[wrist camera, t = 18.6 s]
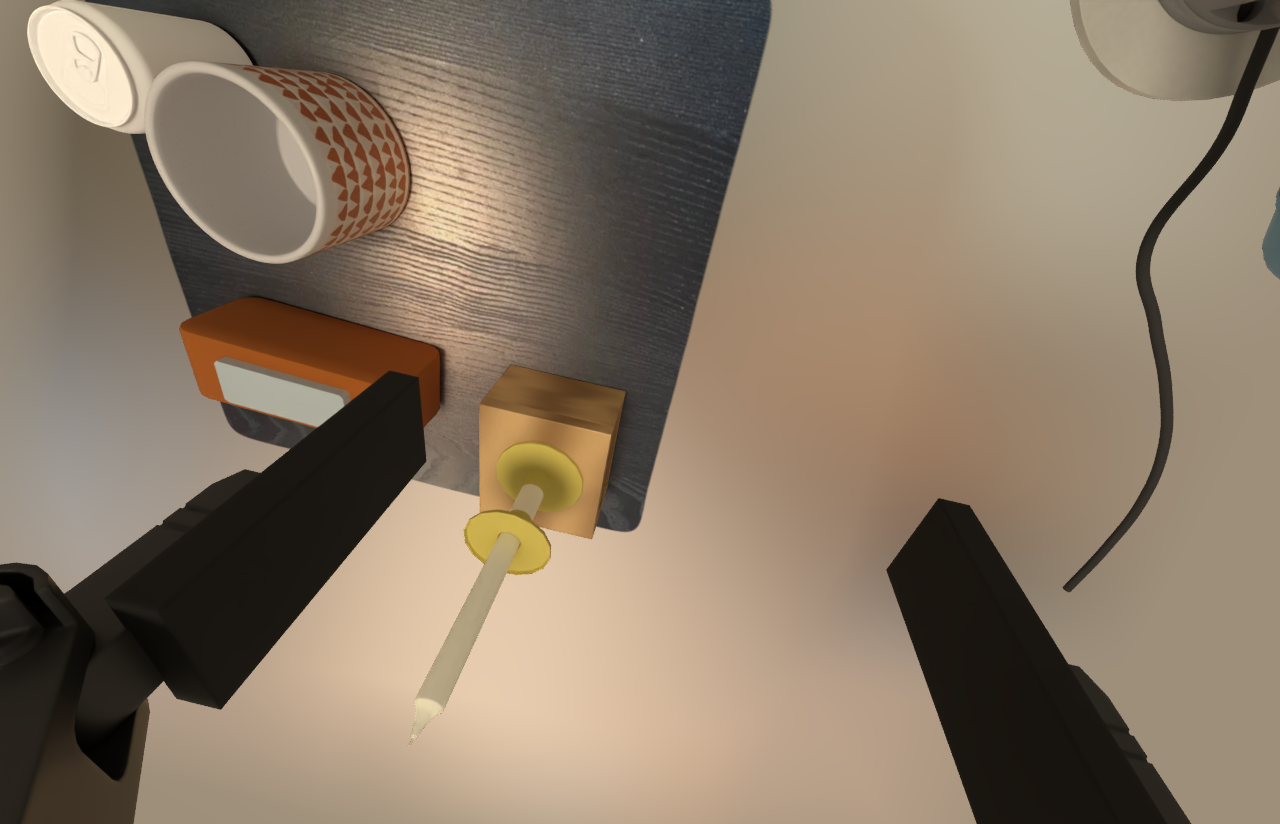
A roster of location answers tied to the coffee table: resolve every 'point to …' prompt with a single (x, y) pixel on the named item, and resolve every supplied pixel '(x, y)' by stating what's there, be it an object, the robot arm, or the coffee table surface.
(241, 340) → the alarm clock
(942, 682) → the robot arm
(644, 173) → the coffee table surface
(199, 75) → the planter
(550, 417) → the lidded tan carton
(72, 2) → the beverage can
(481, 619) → the candle
